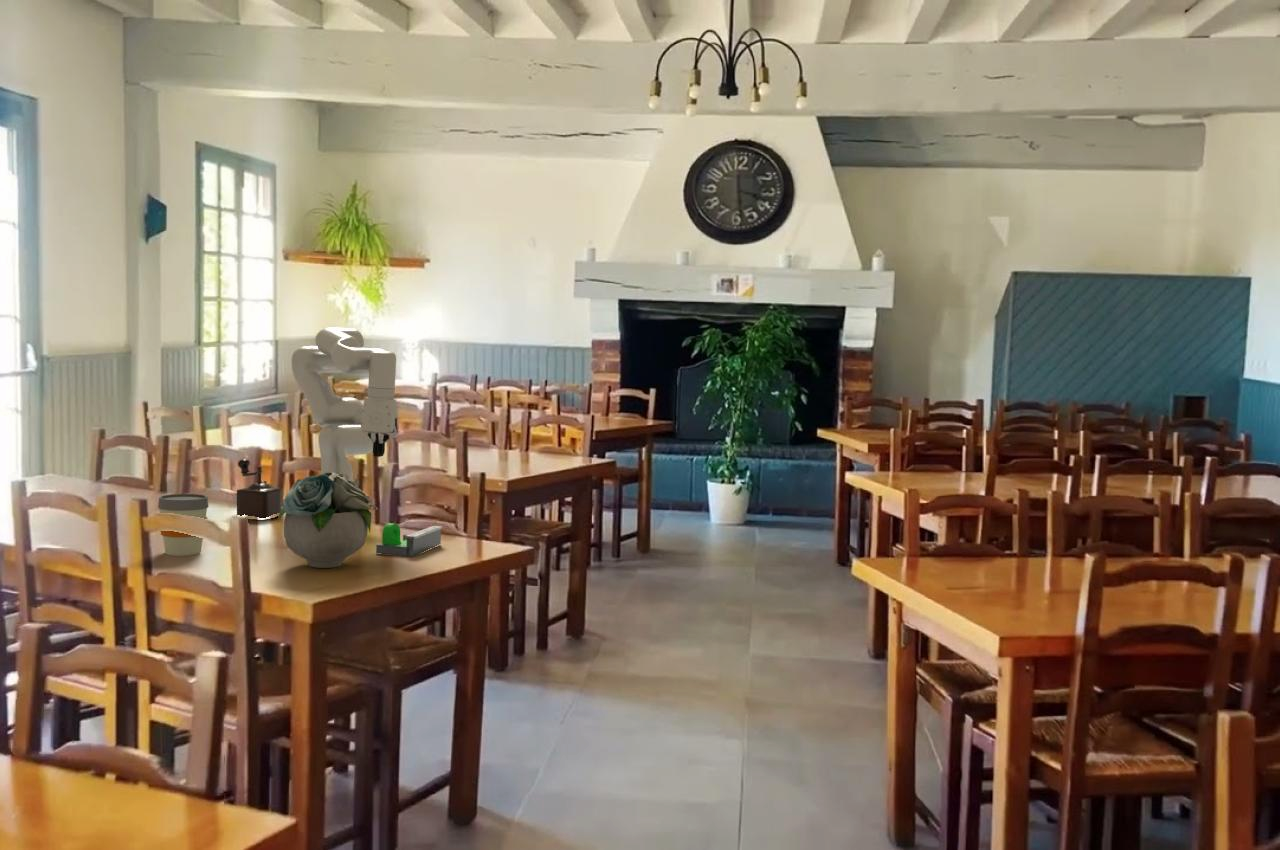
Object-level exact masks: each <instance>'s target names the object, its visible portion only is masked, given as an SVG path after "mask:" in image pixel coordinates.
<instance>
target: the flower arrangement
mask: <svg viewBox="0 0 1280 850" xmlns="http://www.w3.org/2000/svg"><path fill="white" fill-rule="evenodd" d="M342 477H343V474H336V473H325V474H321V473H320V474H318V475H312V476H307V477H304V478H301V479H299V478H298V479H297V480H296V481H295V482H294V483H292V485H291V488H290V490H289V491H288V492H287V493H285V497H284V499H283V500H282V509H281V511H280V514H279V516H278V518H276V520H277V521H278V520H279V519H280V518H281V517H283V516H284V520H283V536H284V539H285V542H286V546H287V548H288V549H289V550H290V551H292V552H293V553H294V554H295V555H296V556H299V557H301V558H303V559H305V560H306V562H307V565H308V566H309V567H311V568H316V569H317V568H318V569H332V568H337V567H338V568H339V567H341V566H342V565H343V564H344V561H345V559H347V558H348V557H350V556H352V555H354V554H356V553H357V552H358V551H359V550H360V549H361V548H362V547H364V545H365V542H366V539H367V537H368V533H371V527H372V525H371V524H372V512H370V510H372V511H373V512H375V510H379V508H378V507H377V506H376V505H375V504H373V499H372V498H370V497H369V496H368V495H367V494H366V493H365V492H364V491H362V489H361V488H360V487H359V486H360V480H359V479H358V478H355V479H354V480H353V482H352V481H350V480H349V477H348V475H347V474H345V476H344V477H343V478H342ZM368 531H369V532H368Z"/></svg>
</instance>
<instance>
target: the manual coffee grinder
mask: <svg viewBox="0 0 1280 850" xmlns="http://www.w3.org/2000/svg"><path fill="white" fill-rule="evenodd" d="M250 464H251V462H250V460H248V459H246V458H242V459H239V460H238V461H237V466H238V468H239V469H240V470H241V471H240V474H241V476H242V477H249V476H256V475H257V482H254V483H252V484H251V485H248V486H247V487H245V488H244V487H243V488H239V489H237V490H236V516H237V515H240V516H242V515H244V514H245V515H248V516H255V517H259V518H266V517H269V516H271V515H273V514H277V513H280V511H281V509H282V504H283V488H282V487H275V486H274V485H270V484H269V483H267V480H265V481H262V473H263V471H262V466H260V465H258V466H257V467H256V468H257V471H255V472H251V471H250V470H249V467H250V466H251V465H250Z"/></svg>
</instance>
